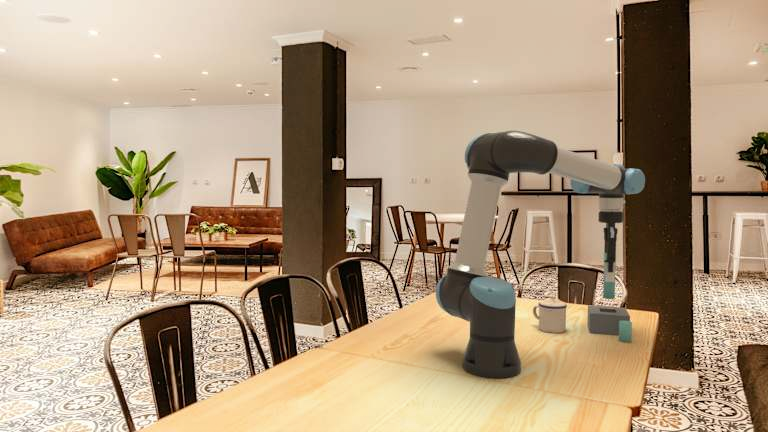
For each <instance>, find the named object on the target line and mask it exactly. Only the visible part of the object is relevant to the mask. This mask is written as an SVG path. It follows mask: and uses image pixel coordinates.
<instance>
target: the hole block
mask: <svg viewBox="0 0 768 432" xmlns="http://www.w3.org/2000/svg"><path fill="white" fill-rule="evenodd" d="M622 320H624V321H630V322H631V315H630V314H629V312H628V310H627V309H626V307H619V306H618V307H617V306H603V305H587V320H586V321H587V328H588V332H589V334H601V335H609V336H610V335H611V336H613V335H614V336H619V321H622Z"/></svg>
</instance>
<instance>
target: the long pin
mask: <svg viewBox="0 0 768 432" xmlns="http://www.w3.org/2000/svg"><path fill="white" fill-rule="evenodd" d="M606 259H607V253H603V284H602V285H603V286H602V289H603V292H602V298H604V299H607V300H614V299H615V298H616V292H615V291H616V276H615V277H614V282H605V274H606V262H604V260H606ZM616 263H617V260H616V261H615V270H616V266H617V264H616Z"/></svg>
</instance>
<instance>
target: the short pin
mask: <svg viewBox="0 0 768 432" xmlns="http://www.w3.org/2000/svg"><path fill="white" fill-rule="evenodd" d="M632 328H633V322H632V321H631V320H630V321H624V320H622V321H619V335H618V341H619V342H622V343H626V342H627V344H628V342H629V343H632V335H633V333H632V332H633V331H632V330H633V329H632Z"/></svg>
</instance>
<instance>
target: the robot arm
mask: <svg viewBox="0 0 768 432" xmlns="http://www.w3.org/2000/svg"><path fill="white" fill-rule="evenodd" d="M464 162H465V164H466V167H467V169H468V173H467V177H468V178H469V180H470V183H471V184H470V188H469V194H468V197H467V198H468V199H467V202H466V207H465V211H464V216H463V220H462V226H461V231H460V235H459V240H458V245H457V250H456V253H455V258H454V262H453V263H452V264H450V265H449V266H447V271H446V274H444V275H443V276H442V277H441V278H440V279H439V280H438V282H437V284H436V288H435V298H436V302H437V304H438V305H439V307H440V309H442V310H443V311H444V312H446V313H447V314H448V315H450V316H451V317H457V318H459V319H462V320H463V321H467V322H468V323H469V339H468V342H467V344H466V347H465V351H464V354H463V357H462V368H463V370H465V371H466V372H468V373H469V374H471V375H475V376H480V377H482V378H483V377H484V378H490V379H491V378H492V379H501V378H512V377H513V376H517V375H518V374H520V373H521V371H522V361H521V358H520V354H519V351H518V348H517V345H516V342H515V335H516V334H515V331H516V330H515V329H516V306H517V305H516V302H517V298H516V290H515V286H514V285H513V284H512V283H510V282H509V281H508V280H506V279H502V278H498V277H497V278H496V277H492V276H489V275H488V273H487V272H486V270H485V266H486V261H487V256H488V251H489V248H490V247H489V246H490V241H491V237H492V233H493V228H494V223H495V220H496V219H495V218H496V213H497V209H498V203H499V198H500V194H501V191H502V190H501V189H502V188H503V187H504V186H506V185H507V184H508V183H509V178H510V174H512V173H513V174H515V173H517V174H518V173H533V174H538V175H540V176H541V175H543V176H544V175H547V174H551V175H554V176H558V177H561V178H564V179H568V180H569V181H570V183H569V184H570V187H571V189H572V190H573V192H575V193H577V194H582V195H583V194H598V210H599V211H598V222H599V223H604V224H605V227H603V240H604V247H603V248H604V249H603V250H604V253H607V259H606V260H604V259H603V263H604V262H606V274H605V282H614V277H615V278H616V269H615V261H616V262H617V258H616V257H617V253H616V252H617V240H618V239H617V237H618V236H617V235H618V228H617V227H616V224H622V223H624V212H623V210H624V205H625V204H626V200H624V195H629V196H630V195H635V194H639V193H641V192H642V191H643V190H644V188H645V184H646V176H645V174H644V172H643V171H642V170H641V169H639V168H631V167H630V168H625V167H624V165H623V164H621V163H608V162H604V161H601V160H599V159H595V158H593V157H589V156H586V155H584V154H580V153H577V152H575V151H572V150H567V149H565V148H563V147H562V148H561V147H558V145H557V144H556V142H554V141H552V140H550V139H547V138H543V137H541V136H538V135H535V134H531V133H528V132H525V131H520V130H507V131H501V132H500V131H499V132H492V133H491V132H488V133H484V134H480V135H478V136H475V137H474V138H473V139H472V140H471V141H470V142H469V143H468V145H467V146H466V148H465V151H464ZM604 253H603V254H604Z"/></svg>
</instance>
